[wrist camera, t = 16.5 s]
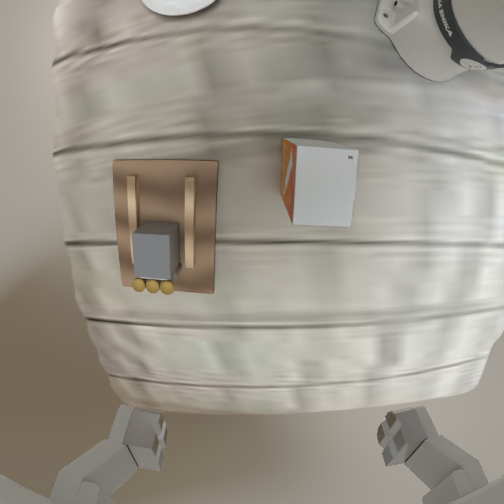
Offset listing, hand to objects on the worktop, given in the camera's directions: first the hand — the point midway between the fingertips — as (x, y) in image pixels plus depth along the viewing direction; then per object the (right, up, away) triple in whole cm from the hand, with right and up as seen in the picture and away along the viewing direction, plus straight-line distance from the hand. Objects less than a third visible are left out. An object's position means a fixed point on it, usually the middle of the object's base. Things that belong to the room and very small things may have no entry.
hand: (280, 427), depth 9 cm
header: (-14, +10, +34) cm, 38 cm away
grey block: (-14, +8, +34) cm, 37 cm away
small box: (+6, +18, +31) cm, 36 cm away
